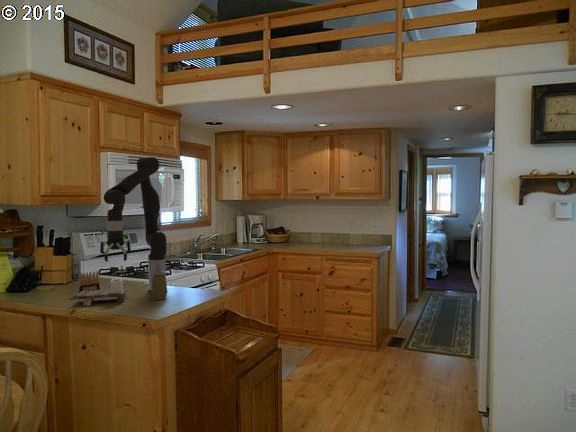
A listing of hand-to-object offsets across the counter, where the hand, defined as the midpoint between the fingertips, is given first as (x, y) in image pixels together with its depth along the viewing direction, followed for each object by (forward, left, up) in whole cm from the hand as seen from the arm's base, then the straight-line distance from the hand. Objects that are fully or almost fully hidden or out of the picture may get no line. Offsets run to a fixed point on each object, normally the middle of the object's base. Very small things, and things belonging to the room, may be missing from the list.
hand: (115, 261), depth 222 cm
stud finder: (0, 0, -16) cm, 16 cm away
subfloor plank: (+7, 0, -20) cm, 21 cm away
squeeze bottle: (-21, +4, -20) cm, 30 cm away
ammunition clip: (+17, -22, -20) cm, 34 cm away
